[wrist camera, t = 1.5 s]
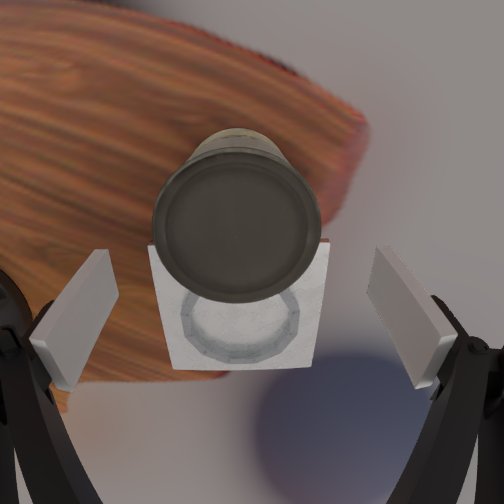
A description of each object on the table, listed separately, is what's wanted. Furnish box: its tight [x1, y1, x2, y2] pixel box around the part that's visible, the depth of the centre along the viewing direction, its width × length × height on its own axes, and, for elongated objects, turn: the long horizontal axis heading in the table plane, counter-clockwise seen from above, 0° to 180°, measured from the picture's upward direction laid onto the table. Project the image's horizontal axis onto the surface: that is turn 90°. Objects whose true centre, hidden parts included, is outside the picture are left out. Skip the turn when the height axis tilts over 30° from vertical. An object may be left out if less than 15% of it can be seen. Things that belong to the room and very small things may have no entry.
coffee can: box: [152, 128, 321, 304], centre depth 25 cm, size 10×10×14 cm
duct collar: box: [148, 239, 330, 370], centre depth 38 cm, size 20×20×2 cm
